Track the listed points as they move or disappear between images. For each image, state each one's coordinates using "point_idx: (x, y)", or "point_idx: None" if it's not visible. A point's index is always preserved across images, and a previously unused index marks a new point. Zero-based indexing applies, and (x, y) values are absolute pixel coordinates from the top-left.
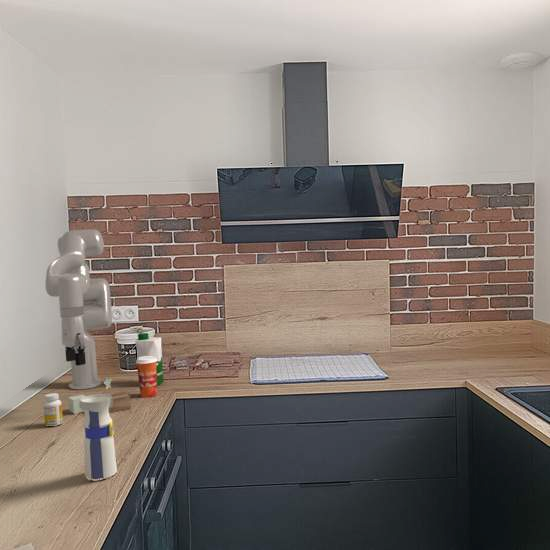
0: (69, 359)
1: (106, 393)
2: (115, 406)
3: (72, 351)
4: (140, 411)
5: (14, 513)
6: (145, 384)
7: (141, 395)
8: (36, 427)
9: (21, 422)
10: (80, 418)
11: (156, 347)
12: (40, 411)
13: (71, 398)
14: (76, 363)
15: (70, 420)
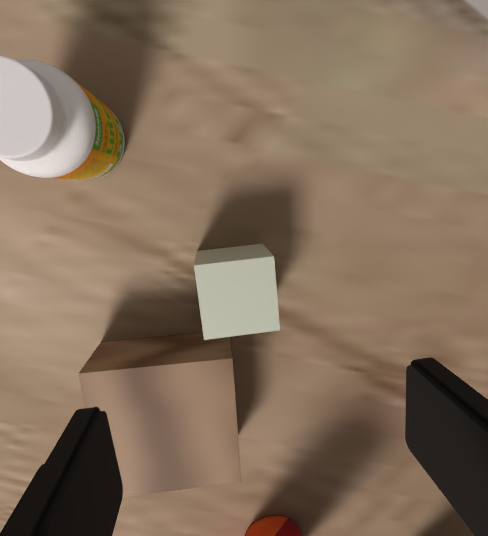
0: (415, 395)
1: (225, 425)
2: None
3: (482, 509)
4: None
5: None
6: None
7: (270, 521)
8: (92, 55)
9: (229, 7)
10: (117, 261)
11: None
12: (357, 130)
13: (236, 265)
14: (70, 425)
15: (113, 218)
